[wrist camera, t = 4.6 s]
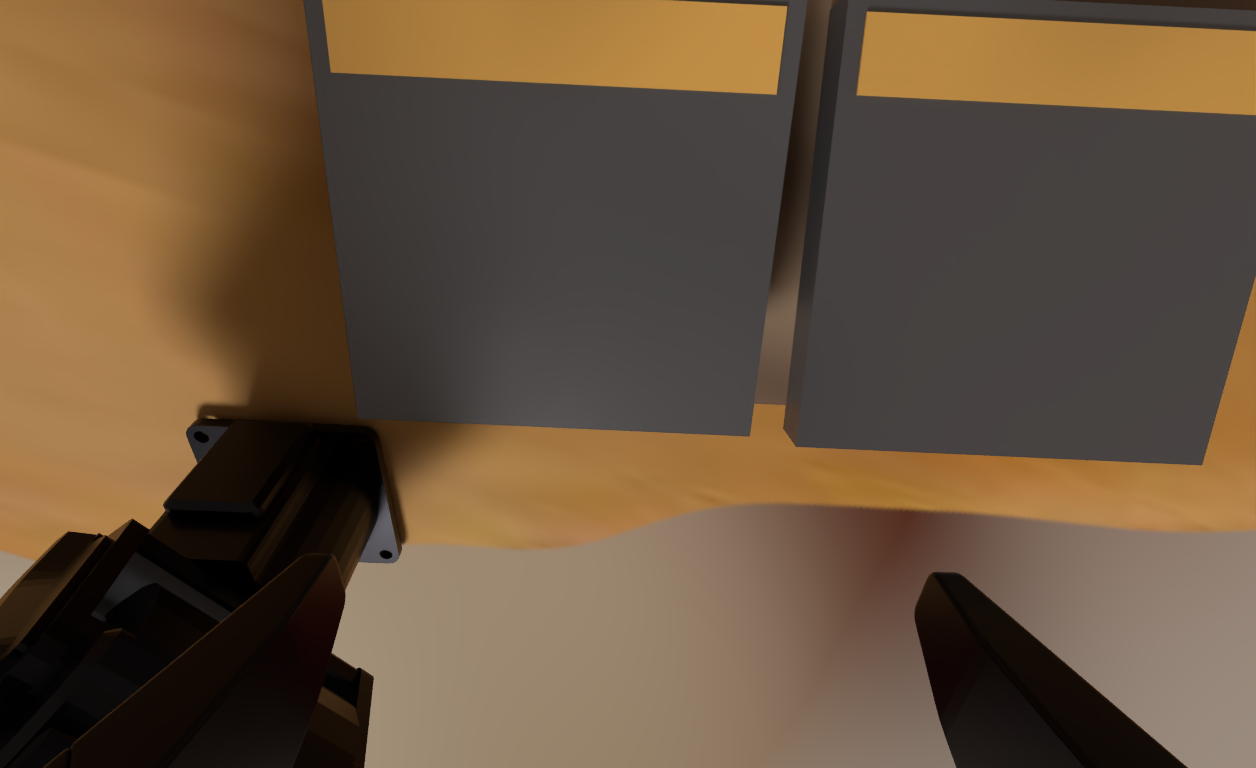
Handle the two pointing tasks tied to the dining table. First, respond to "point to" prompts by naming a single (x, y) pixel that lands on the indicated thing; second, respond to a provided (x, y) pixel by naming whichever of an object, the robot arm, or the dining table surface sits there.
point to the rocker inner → (556, 204)
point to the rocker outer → (1026, 229)
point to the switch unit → (798, 188)
